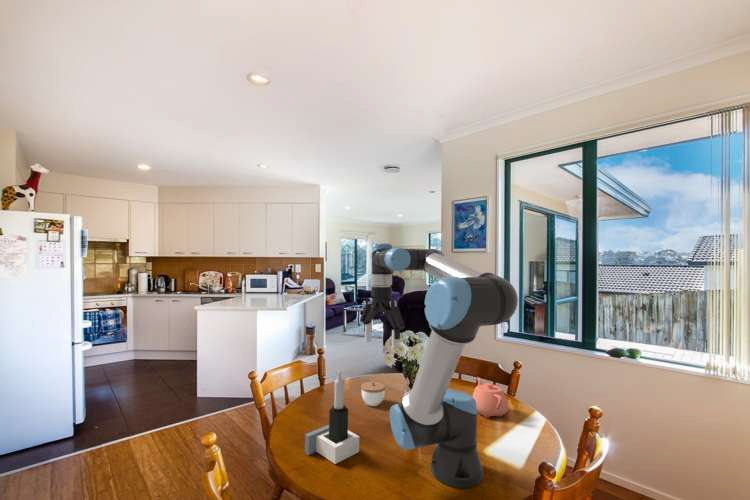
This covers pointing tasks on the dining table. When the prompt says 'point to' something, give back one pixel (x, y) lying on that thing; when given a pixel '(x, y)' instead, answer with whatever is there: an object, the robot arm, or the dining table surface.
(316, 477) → the dining table surface
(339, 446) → the socket block
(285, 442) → the dining table surface
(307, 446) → the backstop wall
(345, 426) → the candle
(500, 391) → the teapot
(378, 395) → the lidded jar
